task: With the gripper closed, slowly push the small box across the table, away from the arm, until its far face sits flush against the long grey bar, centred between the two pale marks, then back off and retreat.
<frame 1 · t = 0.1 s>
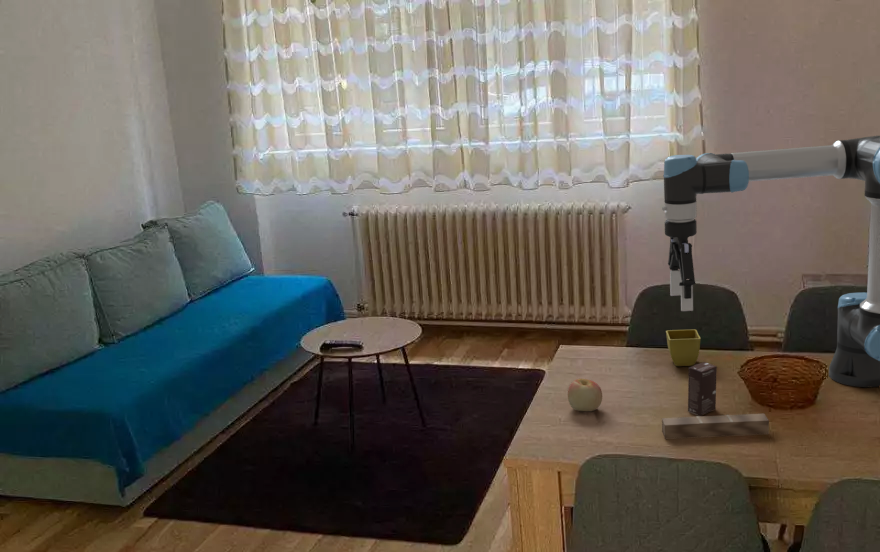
hand: (681, 302, 216), 28 cm above the table, fingers open, 13 cm apart
grey long bar: (714, 432, 206), on the table
flower pot: (683, 364, 252), on the table
apple: (585, 411, 225), on the table
box: (702, 411, 219), on the table
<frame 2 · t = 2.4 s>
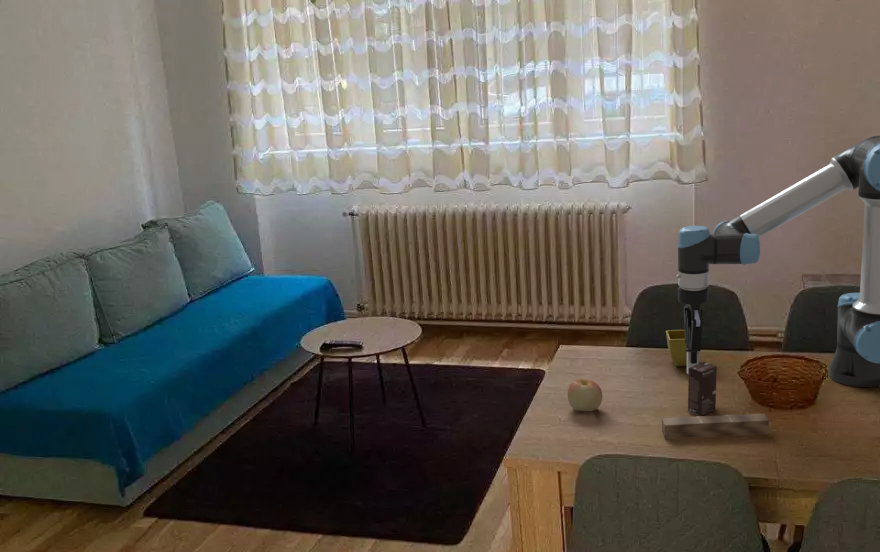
hand: (692, 373, 227), 6 cm above the table, fingers closed
nothing on the table moved.
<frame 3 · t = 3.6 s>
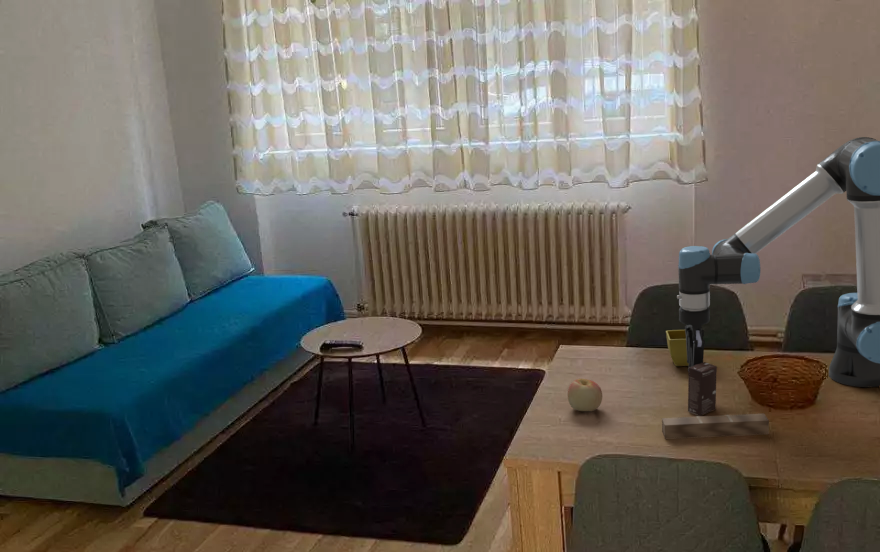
hand: (695, 392, 227), 1 cm above the table, fingers closed
nothing on the table moved.
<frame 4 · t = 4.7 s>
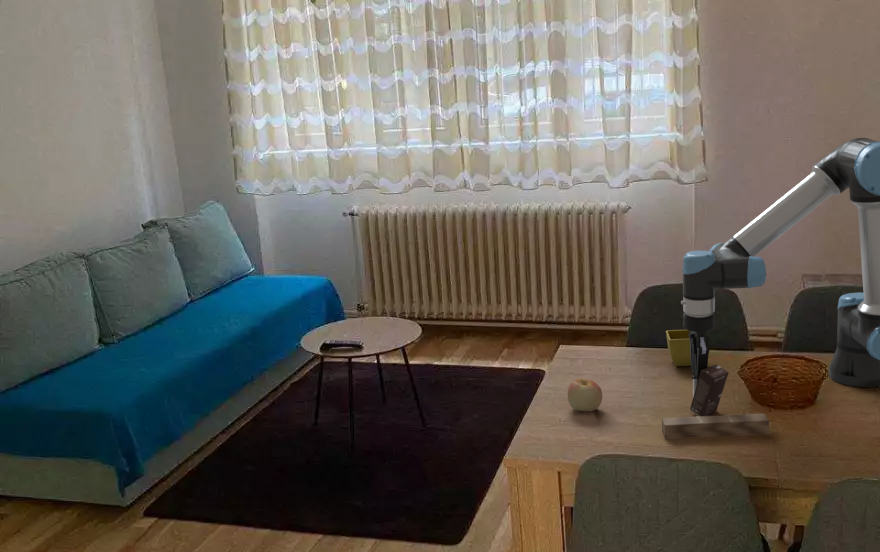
hand: (698, 400, 221), 2 cm above the table, fingers closed
box: (703, 411, 218), on the table, touching gripper, hand
everything else where it was.
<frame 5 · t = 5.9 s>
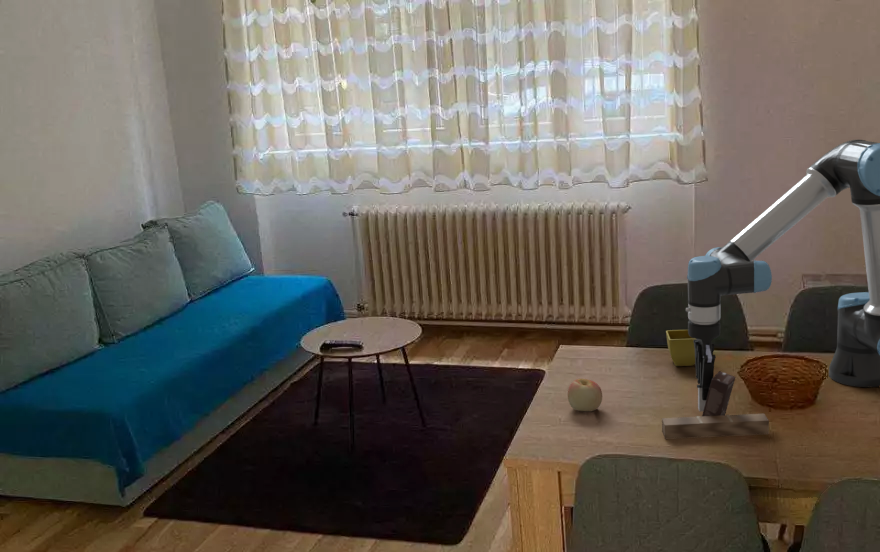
hand: (704, 410, 216), 2 cm above the table, fingers closed
box: (712, 421, 212), on the table, touching gripper, hand
everything else where it was.
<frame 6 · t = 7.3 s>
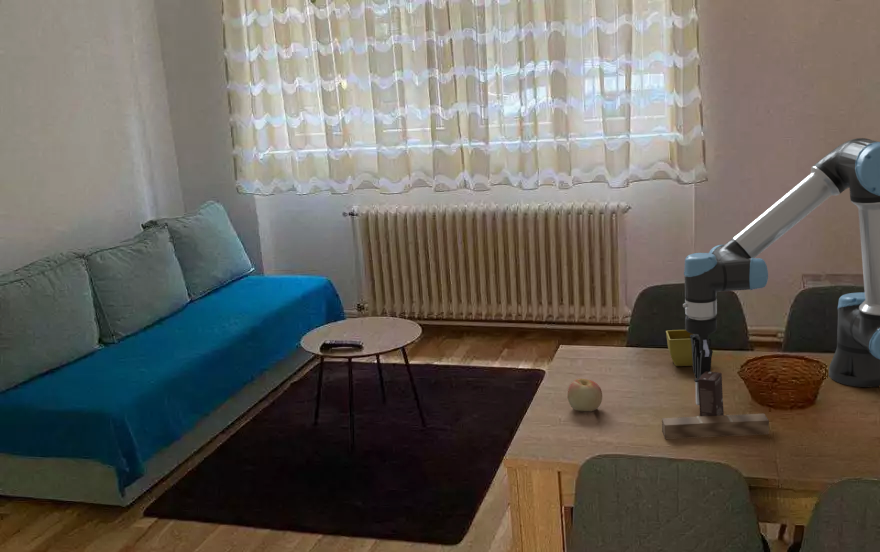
hand: (701, 403, 220), 1 cm above the table, fingers closed
box: (713, 422, 212), on the table
everything else where it was.
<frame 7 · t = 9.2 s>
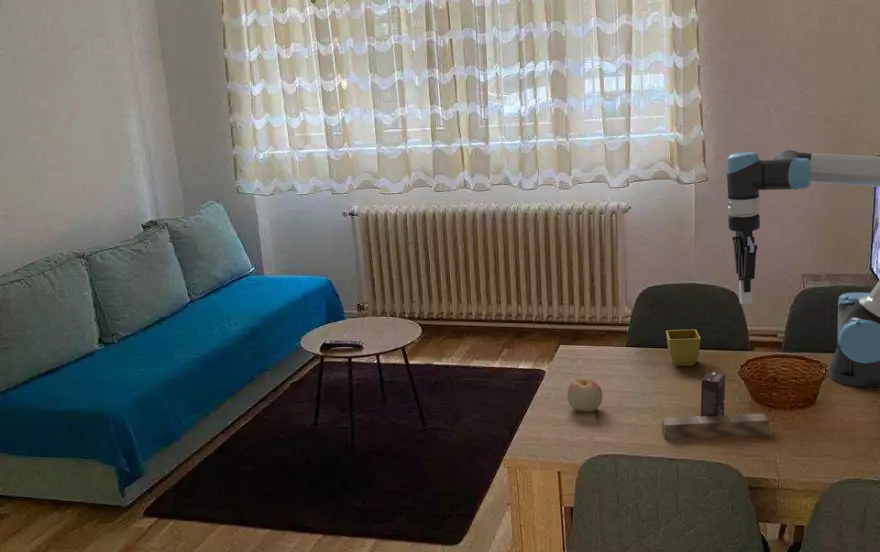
hand: (745, 302, 225), 24 cm above the table, fingers closed
nothing on the table moved.
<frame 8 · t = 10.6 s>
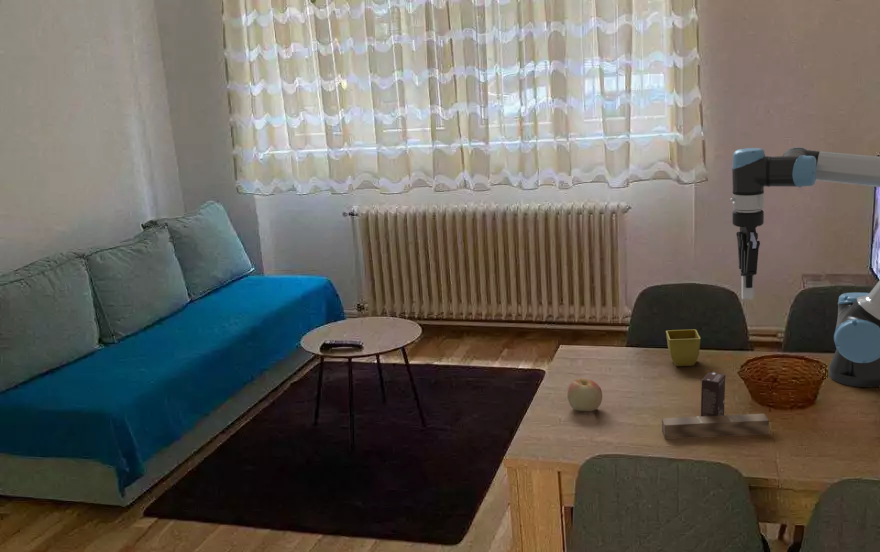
hand: (747, 298, 226), 24 cm above the table, fingers closed
nothing on the table moved.
at the end: box 1.1 cm from the target spot on the table beside the grey long bar, on the table; box tilted 0° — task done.
